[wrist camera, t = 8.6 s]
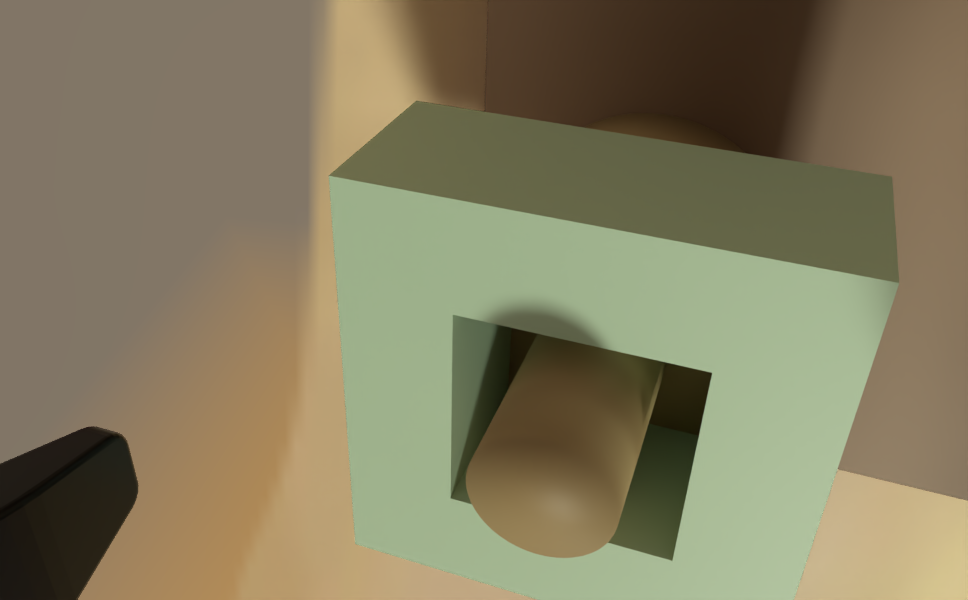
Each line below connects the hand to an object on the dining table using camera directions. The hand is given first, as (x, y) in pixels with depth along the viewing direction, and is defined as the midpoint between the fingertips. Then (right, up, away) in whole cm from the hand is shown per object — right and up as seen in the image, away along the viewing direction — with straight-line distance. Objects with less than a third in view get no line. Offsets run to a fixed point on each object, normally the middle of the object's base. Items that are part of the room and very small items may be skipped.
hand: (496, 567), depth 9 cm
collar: (+2, +2, +4) cm, 5 cm away
